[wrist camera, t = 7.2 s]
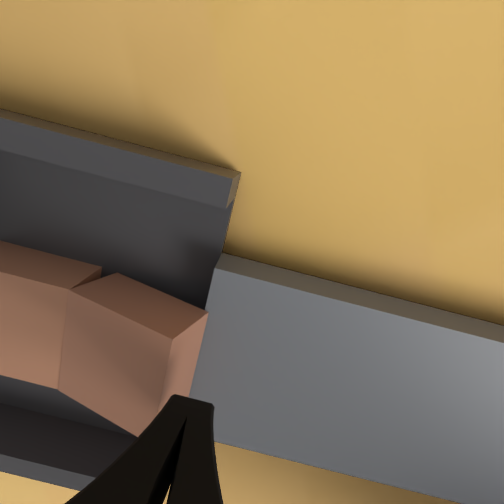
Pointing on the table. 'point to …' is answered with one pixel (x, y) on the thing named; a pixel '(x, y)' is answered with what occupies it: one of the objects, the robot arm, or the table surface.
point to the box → (99, 262)
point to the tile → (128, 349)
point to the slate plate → (354, 381)
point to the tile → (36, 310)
